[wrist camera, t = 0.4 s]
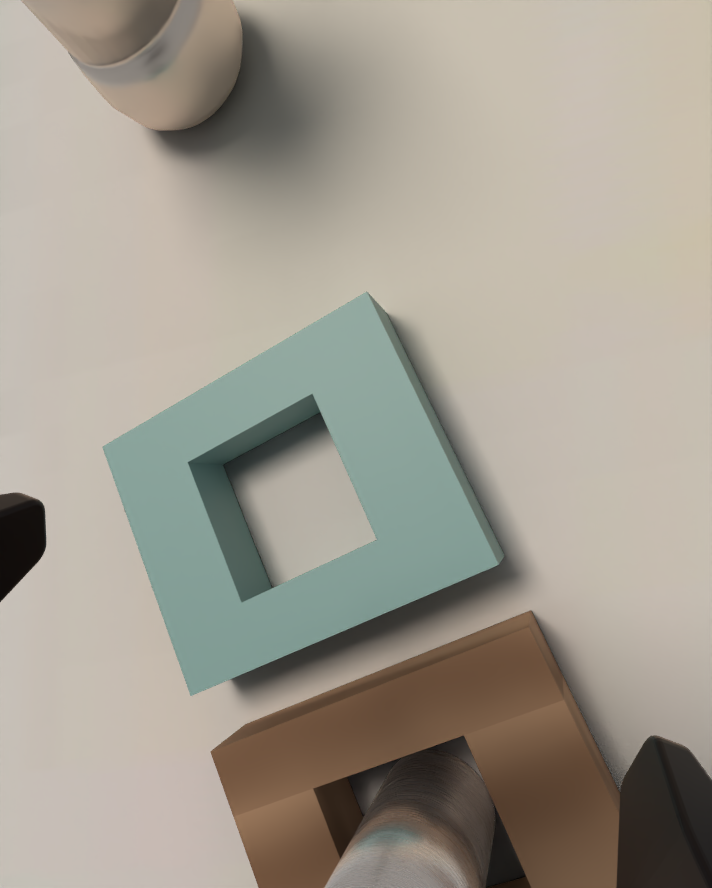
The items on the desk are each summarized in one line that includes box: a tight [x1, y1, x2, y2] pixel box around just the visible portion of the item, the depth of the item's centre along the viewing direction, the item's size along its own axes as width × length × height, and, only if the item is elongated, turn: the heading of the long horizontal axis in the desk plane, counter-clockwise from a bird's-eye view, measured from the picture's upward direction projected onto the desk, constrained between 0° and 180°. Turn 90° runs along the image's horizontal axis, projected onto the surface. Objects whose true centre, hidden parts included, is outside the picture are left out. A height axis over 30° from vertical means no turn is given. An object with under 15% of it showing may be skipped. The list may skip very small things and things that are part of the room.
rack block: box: [103, 292, 504, 696], centre depth 22 cm, size 10×12×2 cm
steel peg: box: [324, 750, 495, 888], centre depth 17 cm, size 4×4×8 cm
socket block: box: [211, 611, 620, 888], centre depth 19 cm, size 10×12×2 cm
